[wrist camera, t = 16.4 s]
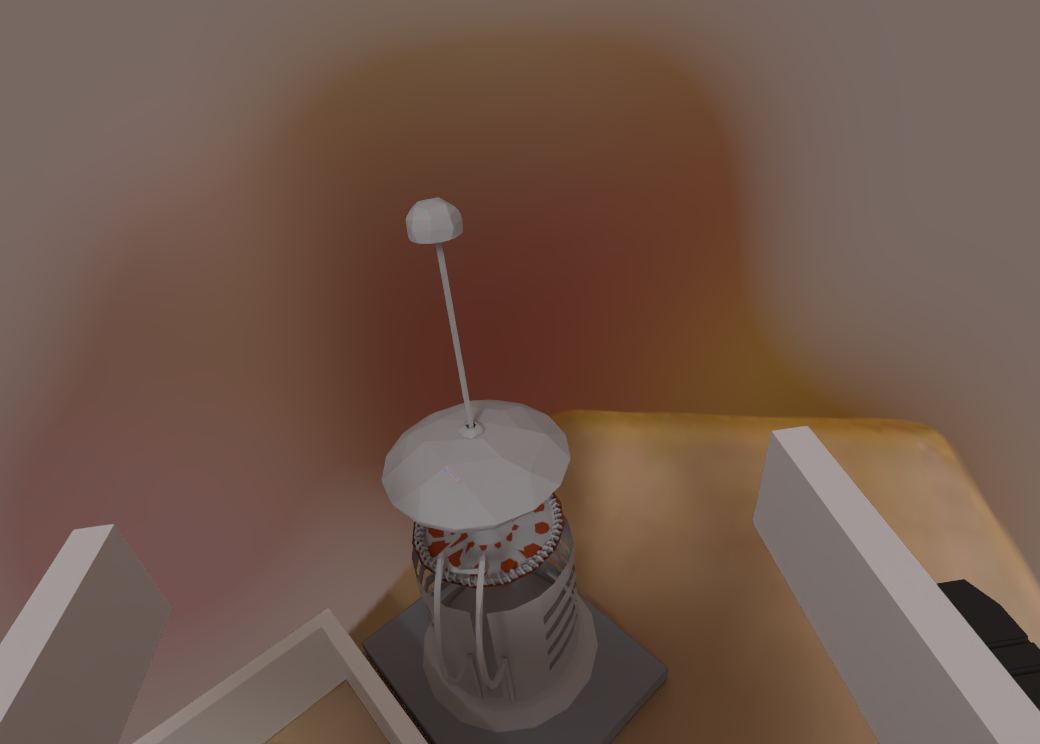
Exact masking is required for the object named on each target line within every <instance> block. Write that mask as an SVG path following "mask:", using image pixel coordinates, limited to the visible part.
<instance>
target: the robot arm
mask: <svg viewBox="0 0 1040 744" xmlns="http://www.w3.org/2000/svg"><path fill="white" fill-rule="evenodd" d="M753 524H754V526H755V527H756V529H757V531H758V533H759V534H760V536H761V538H762V540H763V541H764V543H765V545H766V547H767V548H768V550H769V552H770V554H771V555H772V557H773V559H774V561H775V562H776V564H777V566H778V568H779V569H780V571H781V573H782V575H783V576H784V578H785V580H786V581H787V583H788V585H789V587H790V588H791V590H792V592H793V594H794V595H795V597H796V599H797V601H798V602H799V604H800V606H801V608H802V609H803V611H804V613H805V615H806V616H807V618H808V620H809V622H810V623H811V625H812V627H813V629H814V630H815V632H816V634H817V636H818V637H819V639H820V641H821V643H822V644H823V646H824V648H825V650H826V651H827V653H828V655H829V657H830V658H831V660H832V662H833V664H834V665H835V667H836V669H837V670H838V672H839V674H840V676H841V677H842V679H843V681H844V683H845V684H846V686H847V688H848V690H849V691H850V693H851V695H852V697H853V698H854V700H855V702H856V704H857V705H858V707H859V709H860V711H861V712H862V714H863V716H864V718H865V719H866V721H867V723H868V725H869V726H870V728H871V730H872V732H873V733H874V735H875V737H876V739H877V740H878V742H879V744H1040V649H1039V648H1038V647H1037V646H1036V645H1035V644H1034V642H1033V643H1031V642H1030V641H1029V640H1028V636H1027V635H1026V633H1025V632H1024V631H1023V630H1022V629H1021V628H1020V627H1019V625H1018V624H1017V623H1016V622H1015V621H1014V620H1013V619H1012V618H1011V616H1010V615H1009V614H1008V613H1007V612H1006V611H1005V610H1004V609H1003V607H1002V606H1001V605H1000V604H998V603H997V602H996V601H994V600H993V599H991V598H990V597H989V596H987V595H986V594H984V593H983V592H981V591H980V590H979V589H977V588H976V587H974V586H973V585H971V584H970V583H969V582H967V581H966V580H964V579H963V580H957V581H950V582H944V583H938V584H936V583H935V582H934V581H933V579H932V578H931V577H930V576H929V575H928V573H927V572H926V571H925V570H924V568H923V567H922V566H921V565H920V563H919V562H918V561H917V560H916V559H915V557H914V556H913V555H912V554H911V552H910V551H909V550H908V549H907V548H906V546H905V545H904V544H903V543H902V541H901V540H900V539H899V538H898V536H897V535H896V534H895V533H894V532H893V530H892V529H891V528H890V527H889V525H888V524H887V523H886V522H885V520H884V519H883V518H882V517H881V516H880V514H879V513H878V512H877V511H876V509H875V508H874V507H873V506H872V504H871V503H870V502H869V501H868V500H867V498H866V497H865V496H864V495H863V493H862V492H861V491H860V490H859V488H858V487H857V486H856V485H855V484H854V482H853V481H852V480H851V479H850V477H849V476H848V475H847V474H846V473H845V471H844V470H843V469H842V468H841V466H840V465H839V464H838V463H837V461H836V460H835V459H834V458H833V457H832V455H831V454H830V453H829V452H828V450H827V449H826V448H825V447H824V445H823V444H822V443H821V442H820V441H819V439H818V438H817V437H816V436H815V434H814V433H813V432H812V431H811V429H810V428H809V427H808V426H803V427H796V428H789V429H782V430H775V431H771V436H770V441H769V445H768V450H767V455H766V460H765V465H764V470H763V474H762V479H761V484H760V489H759V494H758V498H757V503H756V508H755V513H754V518H753ZM171 612H172V607H171V606H170V604H169V603H168V601H167V600H166V598H165V597H164V596H163V594H162V593H161V591H160V590H159V588H158V587H157V585H156V584H155V582H154V581H153V579H152V578H151V577H150V575H149V574H148V572H147V571H146V569H145V568H144V566H143V565H142V563H141V562H140V561H139V559H138V558H137V556H136V555H135V553H134V552H133V550H132V549H131V547H130V546H129V544H128V543H127V541H126V540H125V539H124V537H123V536H122V534H121V533H120V531H119V530H118V528H117V527H116V525H115V524H111V525H104V526H96V527H90V528H83V529H75V530H73V532H72V533H71V535H70V537H69V538H68V540H67V541H66V543H65V544H64V546H63V547H62V549H61V550H60V552H59V554H58V555H57V557H56V558H55V560H54V561H53V563H52V564H51V566H50V568H49V569H48V571H47V572H46V574H45V575H44V577H43V579H42V580H41V582H40V583H39V585H38V586H37V588H36V589H35V591H34V592H33V594H32V596H31V597H30V599H29V601H28V602H27V604H26V605H25V607H24V608H23V610H22V611H21V613H20V615H19V616H18V617H17V619H16V621H15V622H14V624H13V625H12V627H11V628H10V630H9V631H8V633H7V635H6V637H5V638H4V639H3V641H2V642H1V644H0V744H118V742H119V739H120V737H121V734H122V732H123V729H124V727H125V725H126V722H127V720H128V717H129V715H130V712H131V710H132V707H133V705H134V702H135V700H136V698H137V695H138V693H139V690H140V688H141V685H142V683H143V680H144V678H145V675H146V673H147V671H148V668H149V666H150V663H151V661H152V658H153V656H154V653H155V651H156V648H157V646H158V644H159V641H160V639H161V636H162V634H163V631H164V629H165V627H166V624H167V622H168V619H169V617H170V614H171Z"/></svg>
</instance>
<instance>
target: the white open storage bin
mask: <svg viewBox="0 0 1040 744" xmlns="http://www.w3.org/2000/svg"><path fill="white" fill-rule="evenodd" d="M346 679H347V681H348V682H349V684H350V685H351V687H352V688H353V690H354V691H355V693H356V694H357V696H358V697H359V699H360V700H361V702H362V703H363V704H364V706H365V707H366V709H367V710H368V712H369V713H370V715H371V716H372V718H373V719H374V721H375V722H376V724H377V725H378V727H379V728H380V730H381V731H382V733H383V734H384V736H385V737H386V739H387V740H388V742H389V743H390V744H428V743H427V742H426V740H425V739H424V737H423V736H422V735H421V733H420V732H419V731H418V729H417V728H416V726H415V725H414V724H413V722H412V721H411V720H410V718H409V717H408V715H407V714H406V713H405V711H404V710H403V709H402V707H401V706H400V704H399V703H398V702H397V700H396V699H395V698H394V696H393V695H392V693H391V692H390V691H389V689H388V688H387V687H386V685H385V684H384V683H383V681H382V680H381V678H380V677H379V676H378V674H377V673H376V672H375V670H374V669H373V667H372V666H371V665H370V663H369V662H368V661H367V659H366V658H365V656H364V655H363V654H362V652H361V651H360V650H359V648H358V647H357V645H356V644H355V643H354V641H353V640H352V639H351V637H350V636H349V634H348V633H347V632H346V630H345V629H344V628H343V626H342V625H341V624H340V622H339V621H338V619H337V618H336V617H335V615H334V614H333V613H332V611H331V610H330V608H329V607H328V608H326V609H325V610H324V611H322V612H321V613H319V614H318V615H316V616H315V617H314V618H312V619H311V620H309V621H308V622H306V623H305V624H303V625H302V626H301V627H299V628H298V629H296V630H295V631H293V632H292V633H290V634H289V635H288V636H286V637H285V638H283V639H282V640H280V641H279V642H278V643H276V644H275V645H273V646H272V647H270V648H269V649H268V650H266V651H265V652H263V653H262V654H261V655H259V656H257V657H256V658H255V659H253V660H252V661H250V662H249V663H247V664H246V665H245V666H243V667H242V668H240V669H239V670H237V671H236V672H235V673H233V674H232V675H230V676H229V677H227V678H226V679H224V680H223V681H222V682H220V683H219V684H217V685H216V686H214V687H213V688H212V689H210V690H209V691H207V692H206V693H204V694H203V695H201V696H200V697H199V698H197V699H196V700H194V701H193V702H192V703H190V704H189V705H187V706H186V707H184V708H183V709H181V710H180V711H179V712H177V713H176V714H174V715H173V716H171V717H170V718H169V719H167V720H166V721H164V722H163V723H161V724H160V725H158V726H157V727H156V728H154V729H153V730H151V731H150V732H148V733H147V734H145V735H144V736H143V737H141V738H140V739H138V740H137V741H136V742H134V743H133V744H263V743H265V742H266V741H267V740H269V739H270V738H271V737H272V736H274V735H275V734H276V733H278V732H279V731H280V730H281V729H283V728H284V727H285V726H287V725H288V724H289V723H290V722H292V721H293V720H294V719H296V718H297V717H298V716H299V715H301V714H302V713H303V712H305V711H306V710H307V709H308V708H310V707H311V706H312V705H314V704H315V703H316V702H317V701H319V700H320V699H321V698H323V697H324V696H325V695H326V694H328V693H329V692H330V691H332V690H333V689H334V688H335V687H337V686H338V685H339V684H341V683H342V682H343V681H344V680H346Z"/></svg>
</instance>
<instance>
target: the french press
mask: <svg viewBox="0 0 1040 744" xmlns="http://www.w3.org/2000/svg"><path fill="white" fill-rule="evenodd" d="M406 224H407V230H408V237H409V239H410V240H411V241H412V242H416V243H424V244H425V243H426V244H427V243H428V244H430V243H435V244H436V249H437V254H438V259H439V265H440V271H441V276H442V282H443V287H444V293H445V298H446V304H447V309H448V315H449V320H450V326H451V331H452V336H453V342H454V348H455V353H456V359H457V364H458V370H459V375H460V381H461V386H462V392H463V397H464V403H463V404H459V405H456V406H454V407H451V408H448V409H445V410H442V411H438V412H435V413H433V414H431V415H429V416H427V417H426V418H424V419H423V420H422V421H420V422H419V423H417V424H416V425H414V426H413V427H411V428H410V429H408V430H407V431H406V432H404V433H403V434H402V436H401V437H400V438H399V439H398V441H397V442H396V443H395V445H394V446H393V447H392V449H391V450H390V451H389V453H388V454H387V455H386V460H385V465H384V471H383V476H382V483H383V485H384V488H385V490H386V492H387V495H388V497H389V500H390V502H391V504H392V505H393V506H394V507H395V508H397V509H398V510H399V511H401V512H402V513H404V514H405V515H406V516H408V517H409V518H411V519H412V520H413V521H414V530H413V541H412V544H413V552H412V560H413V564H414V568H415V572H416V577H417V580H418V584H419V588H420V591H421V594H422V597H423V601H424V604H425V607H426V610H427V613H428V617H429V621H430V625H429V627H428V629H427V631H426V633H425V639H424V654H423V669H424V672H425V674H426V677H427V679H428V682H429V685H430V687H431V690H432V692H433V695H434V698H435V699H436V700H438V701H439V702H440V703H441V704H442V705H443V706H444V707H445V708H446V709H447V710H448V711H449V712H450V713H452V714H453V715H454V716H455V717H456V718H457V719H458V720H459V721H460V722H463V723H467V724H470V725H473V726H476V727H479V728H483V729H486V730H489V731H492V732H504V731H512V730H520V729H528V728H535V727H536V726H538V725H540V724H542V723H543V722H545V721H547V720H548V719H550V718H552V717H554V716H555V715H557V714H559V713H561V712H562V711H564V710H566V709H567V708H568V707H569V706H570V705H571V703H572V702H573V701H574V699H575V698H576V697H577V695H578V694H579V693H580V691H581V690H582V689H583V687H584V686H585V685H586V683H587V682H588V681H589V679H590V677H591V672H592V668H593V664H594V660H595V655H596V651H597V647H598V643H597V638H596V633H595V628H594V623H593V617H592V614H591V612H590V611H589V609H588V608H587V606H586V605H585V604H584V602H583V601H582V599H581V598H580V596H579V595H578V593H577V588H576V583H575V579H576V572H575V568H574V561H575V554H574V546H573V541H572V537H571V533H570V529H569V525H568V521H567V519H566V518H565V516H564V515H563V512H562V506H561V502H560V500H559V499H558V498H557V497H556V495H555V494H554V493H553V492H554V491H555V490H556V489H557V488H558V487H559V486H560V485H561V483H562V480H563V478H564V475H565V473H566V470H567V467H568V465H569V462H570V459H571V458H570V453H569V448H568V443H567V438H566V434H565V433H564V432H563V431H562V430H561V429H560V428H559V427H558V426H557V425H556V423H555V422H554V421H553V420H552V419H551V418H550V417H549V416H548V415H546V414H544V413H542V412H540V411H537V410H535V409H533V408H531V407H528V406H526V405H524V404H521V403H513V402H505V401H497V400H476V401H469V396H468V390H467V385H466V379H465V373H464V368H463V362H462V356H461V351H460V345H459V339H458V334H457V328H456V323H455V317H454V311H453V305H452V300H451V294H450V289H449V282H448V277H447V271H446V266H445V260H444V254H443V249H442V243H441V242H444V241H448V240H451V239H453V238H455V237H457V236H458V235H460V234H461V233H462V232H463V227H462V217H461V215H460V213H459V211H458V209H457V208H456V207H454V206H453V205H451V204H449V203H448V202H446V201H444V200H442V199H441V198H439V197H437V198H433V199H428V200H423V201H418V202H417V203H416V204H415V205H414V206H413V207H412V209H411V210H410V211H409V213H408V216H407V218H406ZM560 537H561V538H562V539H563V541H564V542H565V543H566V544H567V545H568V547H569V549H570V551H571V554H570V555H569V553H568V552H567V551H566V550H565V549H564V548H563V546H562V545H561V544H560V543H559V540H560ZM556 549H558V550H559V551H560V552H561V553H562V555H563V556H564V557H565V558H566V559H567V560H568V564H567V565H566V564H565V563H564V562H563V561H562V559H561V558H560V557H559V556H558V555H557V554H555V553H554V551H555V550H556ZM548 557H551V558H552V559H553V560H554V561H556V562H557V563H558V564H559V565H560V566H561V567H562V568H563V569H564V570H563V571H562V572H561V571H560V570H559V569H557V568H556V567H555V566H553V565H552V564H551V563H549V562H548V561H547V560H546V559H547V558H548ZM418 559H420V562H421V566H420V571H419V576H418V575H417V571H416V569H417V564H418ZM546 568H548V569H549V570H550V571H552V572H553V573H554V574H556V575H557V576H558V578H556V577H555V576H553V575H552V574H550V573H546ZM426 569H428V570H430V571H431V572H432V573H431V574H430V575H429V576H428V577H427V578H426V580H425V585H424V589H423V587H422V585H421V584H422V579H423V573H424V571H425V570H426ZM572 570H573V572H574V574H572V572H571V571H572ZM569 577H570V579H571V583H570V582H569V580H568V579H569ZM434 580H435V584H434V590H433V591H432V592H431V593H430V594H428V593H427V592H428V587H429V585H430V584H431V583H432V582H433V581H434ZM441 580H443V581H442V582H441ZM451 584H457V585H459V586H458V587H456V588H455V589H453V590H452V591H451V592H449V593H448V594H447V595H446V596H445V597H444V598H443V599H442V600H441V601H440V593H441V592H442V591H443V590H444V589H446V588H447V587H448V586H449V585H451ZM573 586H574V588H575V589H573ZM426 604H427V605H426ZM427 606H428V608H427ZM431 615H432V617H431Z"/></svg>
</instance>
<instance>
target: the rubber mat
mask: <svg viewBox="0 0 1040 744" xmlns="http://www.w3.org/2000/svg"><path fill="white" fill-rule="evenodd" d="M546 573H550V574H552V575H553V576H555V577H556V578H558V576H557V575H556V574H554V573H553V572H552V571H550V570H549V569H548V568H546ZM458 586H459V585H457V584H451V585H449V586H448V587H447V588H446V589H444V590H443V591H442V592H441V593H440V601H441V600H442V599H443V598H444V597H445V596H446V595H447V594H448V593H449V592H451V591H452V590H453V589H455V588H456V587H458ZM433 590H434V589H432V590H431V591H430V592H429V593H428V594H430V593H431V592H432V591H433ZM577 593H578V592H577ZM578 595H579V596H580V598H581V599H582V601H583V602H584V604H585V605H586V606H587V608H588V609H589V611H590V612H591V614H592V617H593V623H594V628H595V633H596V638H597V643H598V647H597V651H596V655H595V660H594V664H593V668H592V672H591V677H590V679H589V681H588V682H587V683H586V685H585V686H584V687H583V689H582V690H581V691H580V693H579V694H578V695H577V697H576V698H575V699H574V701H573V702H572V703H571V705H570V706H569V707H568V708H567V709H566V710H564V711H562V712H561V713H559V714H557V715H555V716H554V717H552V718H550V719H548V720H547V721H545V722H543V723H542V724H540V725H538V726H536V727H535V728H528V729H520V730H512V731H504V732H492V731H489V730H486V729H483V728H479V727H476V726H473V725H470V724H467V723H463V722H460V721H459V720H458V719H457V718H456V717H455V716H454V715H453V714H452V713H450V712H449V711H448V710H447V709H446V708H445V707H444V706H443V705H442V704H441V703H440V702H439V701H438V700H436V699H435V698H434V695H433V692H432V690H431V687H430V685H429V682H428V679H427V677H426V674H425V672H424V669H423V654H424V639H425V633H426V631H427V629H428V627H429V625H430V621H429V617H428V613H427V610H426V607H425V604H424V601H423V597H422V598H421V599H419V600H418V601H417V602H415V603H414V604H413V605H411V606H410V607H409V608H407V609H406V610H405V611H403V612H402V613H401V614H399V615H398V616H397V617H395V618H394V619H393V620H391V621H390V622H389V623H387V624H386V625H385V626H383V627H382V628H381V629H379V630H378V631H377V632H375V633H374V634H373V635H371V636H370V637H369V638H368V639H366V640H365V641H364V642H362V644H363V647H364V649H365V652H366V653H367V655H368V656H369V657H370V659H371V660H372V662H373V663H374V664H375V666H376V667H377V668H378V670H379V671H380V672H381V674H382V675H383V676H384V678H385V679H386V681H387V682H388V683H389V685H390V686H391V687H392V689H393V690H394V691H395V693H396V694H397V696H398V697H399V698H400V700H401V701H402V702H403V704H404V705H405V706H406V708H407V709H408V710H409V712H410V713H411V715H412V716H413V717H414V719H415V720H416V721H417V723H418V724H419V725H420V727H421V728H422V729H423V731H424V732H425V734H426V735H427V736H428V738H429V739H430V740H431V742H432V743H433V744H609V743H610V742H611V741H612V739H613V738H614V737H615V736H616V735H617V734H618V733H619V732H620V730H621V729H622V728H623V727H624V726H625V725H626V724H627V723H628V722H629V720H630V719H631V718H632V717H633V716H634V715H635V714H636V713H637V711H638V710H639V709H640V708H641V707H642V706H643V705H644V704H645V702H646V701H647V700H648V699H649V698H650V697H651V696H652V695H653V693H654V692H655V691H656V690H657V689H658V688H659V687H660V686H661V684H662V683H663V682H664V681H665V680H666V679H667V673H668V667H666V666H665V665H664V664H663V663H662V662H660V661H659V660H658V659H657V658H656V657H654V656H653V655H652V654H651V653H650V652H648V651H647V650H646V649H645V648H644V647H642V646H641V645H640V644H639V643H638V642H636V641H635V640H634V639H633V638H632V637H630V636H629V635H628V634H627V633H626V632H624V631H623V630H622V629H621V628H620V627H618V626H617V625H616V624H615V623H614V622H612V621H611V620H610V619H609V618H608V617H606V616H605V615H604V614H603V613H602V612H601V611H599V610H598V609H597V608H596V607H595V606H593V605H592V604H591V603H590V602H589V601H587V600H586V599H585V598H584V597H583V596H581V595H580V594H579V593H578ZM426 605H427V604H426ZM427 608H428V606H427ZM431 617H432V615H431Z"/></svg>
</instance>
